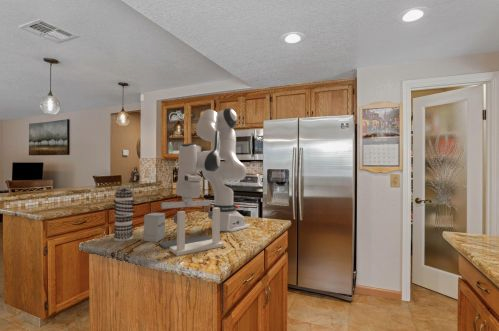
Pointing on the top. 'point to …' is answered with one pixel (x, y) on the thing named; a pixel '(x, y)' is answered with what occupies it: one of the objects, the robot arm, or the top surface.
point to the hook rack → (200, 245)
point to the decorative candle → (123, 214)
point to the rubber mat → (187, 240)
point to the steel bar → (184, 204)
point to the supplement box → (154, 227)
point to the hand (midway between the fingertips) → (186, 205)
